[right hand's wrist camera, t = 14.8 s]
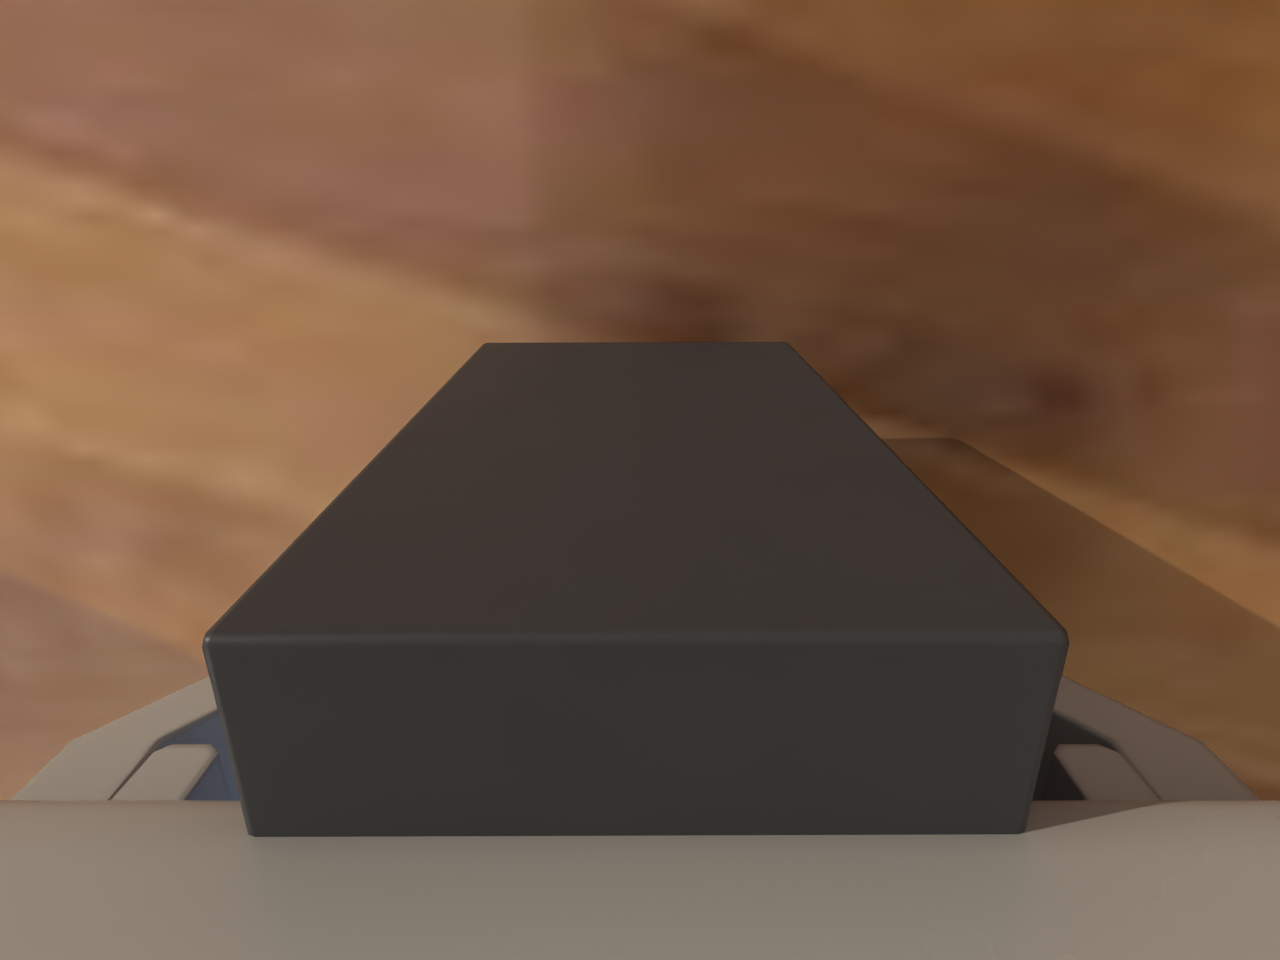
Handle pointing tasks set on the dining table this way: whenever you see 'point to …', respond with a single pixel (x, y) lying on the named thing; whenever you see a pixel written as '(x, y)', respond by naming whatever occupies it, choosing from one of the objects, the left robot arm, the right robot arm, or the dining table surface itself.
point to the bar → (635, 620)
